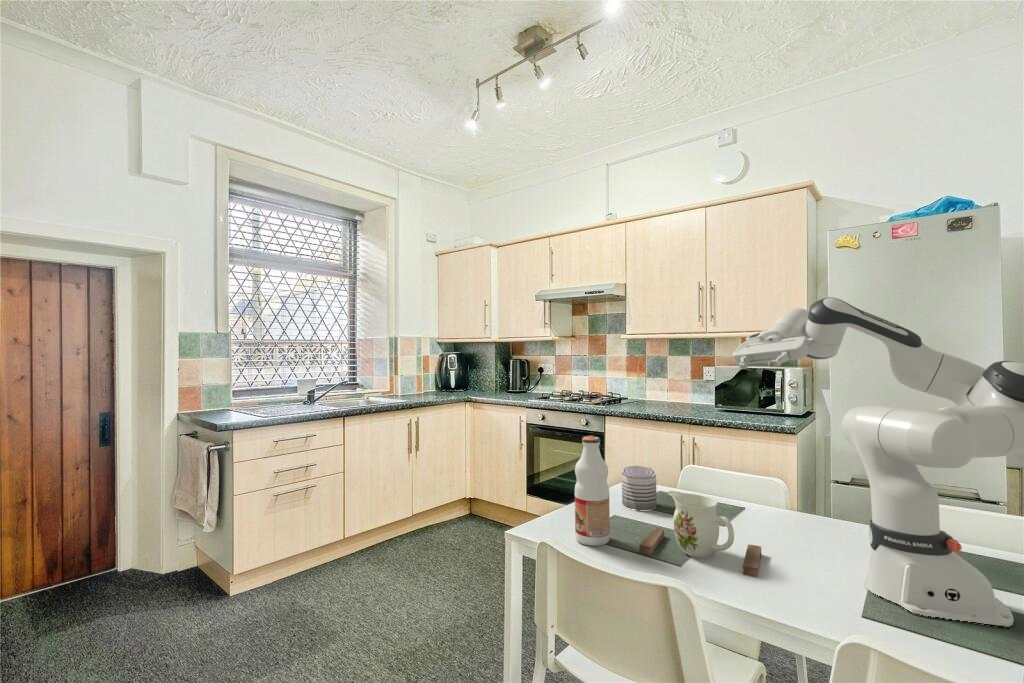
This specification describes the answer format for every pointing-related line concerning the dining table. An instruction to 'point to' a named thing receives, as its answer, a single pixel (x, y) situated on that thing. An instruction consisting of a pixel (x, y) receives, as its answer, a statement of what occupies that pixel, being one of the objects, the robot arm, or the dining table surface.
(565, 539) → the dining table surface
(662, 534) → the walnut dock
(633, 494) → the can
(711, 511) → the pitcher
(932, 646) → the dining table surface
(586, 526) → the fruit juice
